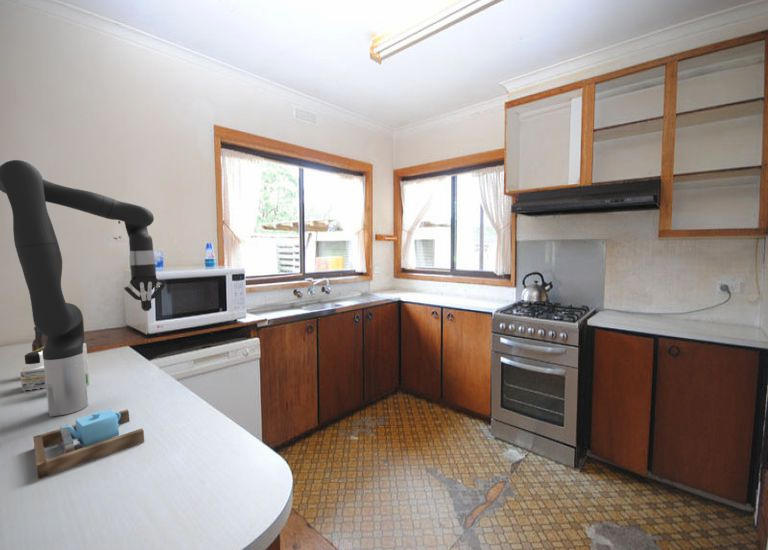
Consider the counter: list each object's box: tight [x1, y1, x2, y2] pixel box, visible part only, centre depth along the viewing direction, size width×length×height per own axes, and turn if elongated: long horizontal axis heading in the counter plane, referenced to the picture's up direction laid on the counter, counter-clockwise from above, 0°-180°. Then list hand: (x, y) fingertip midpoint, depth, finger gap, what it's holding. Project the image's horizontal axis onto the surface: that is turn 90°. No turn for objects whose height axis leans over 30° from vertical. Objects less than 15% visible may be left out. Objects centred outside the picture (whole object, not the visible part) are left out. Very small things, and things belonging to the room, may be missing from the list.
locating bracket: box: [32, 409, 145, 480], centre depth 90 cm, size 20×18×3 cm
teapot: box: [61, 408, 121, 448], centre depth 91 cm, size 12×6×8 cm, turn 143°
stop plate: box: [59, 424, 75, 454], centre depth 87 cm, size 2×13×4 cm, turn 46°
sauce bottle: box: [31, 326, 47, 352], centre depth 145 cm, size 7×6×20 cm
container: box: [19, 350, 46, 392], centre depth 132 cm, size 8×8×13 cm
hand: (146, 310), depth 131 cm, fingers closed
